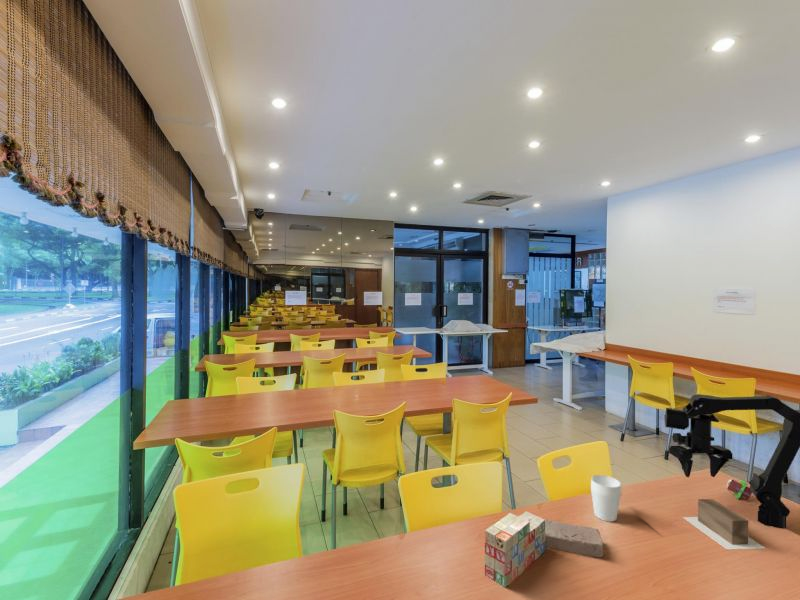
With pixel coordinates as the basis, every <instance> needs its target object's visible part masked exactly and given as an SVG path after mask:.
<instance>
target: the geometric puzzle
mask: <svg viewBox="0 0 800 600" xmlns="http://www.w3.org/2000/svg"><path fill="white" fill-rule="evenodd" d="M739 481H740V479H736V480H735V479H729V480H728V481H727V482H726V490H728V491H729V492H731V493H732V492H733V493H732V495H733V496H734V497H735V498H736V500H737V501H738V500H740V499H739V498H741V497H742V499H743V500H745V499H746V500H749V499H750V498H751V496H752V495H753V493H752V492H751V490H750V484H749V485H748V483H746V481H745V480H744V479H743V478H742V479H741V481H740V482H739ZM748 486H749V487H748Z"/></svg>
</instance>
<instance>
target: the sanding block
mask: <svg viewBox="0 0 800 600" xmlns="http://www.w3.org/2000/svg"><path fill="white" fill-rule="evenodd" d="M697 502H698V503H697V517H698V521H699V522H701V523H702V524H703V525H705V526H706V527H708V528H709V529H711V530H712V531H713V532H715V533H716V534H718V535H719V536H721V537H722V538H723V539H725V540H726V541H728V542H729V543H731V544H732V545H733V544H748V537H749V520H748V519H747V518H745V517H744V516H742V515H741V514H738V513H737V512H735V511H733V510H732V509H730V508H729V507H727V506H725V505H723V504H722V503H721V502H718V501H717V500H715V499H714V498H699V499H697Z"/></svg>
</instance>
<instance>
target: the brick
mask: <svg viewBox="0 0 800 600" xmlns="http://www.w3.org/2000/svg"><path fill="white" fill-rule="evenodd" d="M544 520H545V548H549V549H553V550H555V549H556V550H559V551H562V552H569V553H571V552H572V553H573V554H577V555H581V556H585V555H586V557H591V558H599V559H600V558H602V557H603V556H604V544H603V539H602V536H601V535H602V534H601V533H600V530H599V529H598V528H595V527H591V526H583V525H574V524H570V523H565V522H561V521H558V520H557V521H556V520H552V519H551V520H550V519H549V520H548V519H544ZM572 553H571V554H572Z"/></svg>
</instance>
